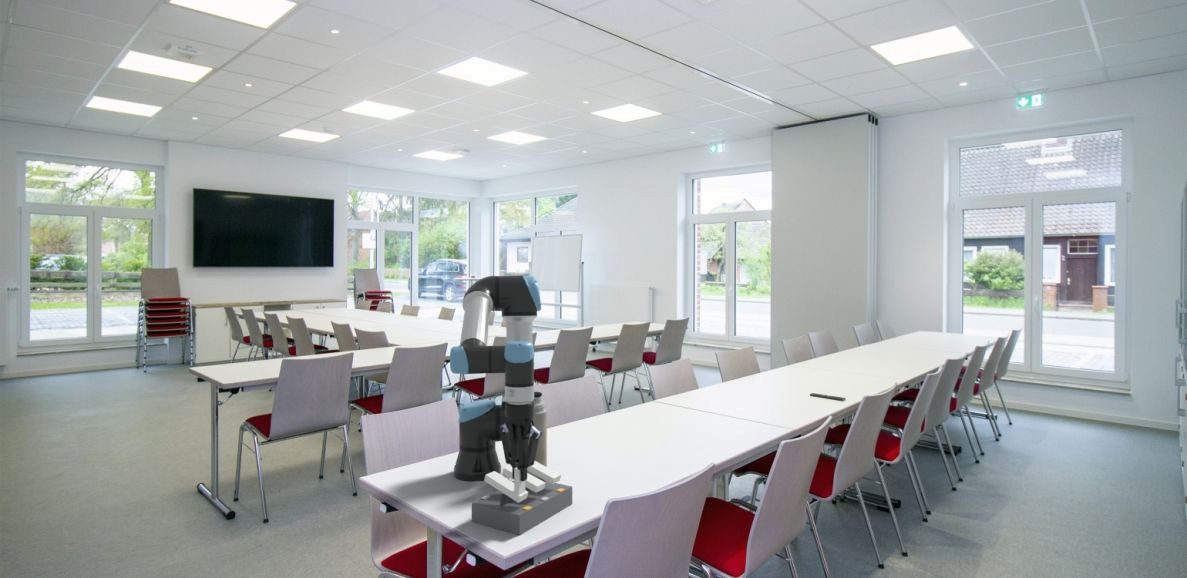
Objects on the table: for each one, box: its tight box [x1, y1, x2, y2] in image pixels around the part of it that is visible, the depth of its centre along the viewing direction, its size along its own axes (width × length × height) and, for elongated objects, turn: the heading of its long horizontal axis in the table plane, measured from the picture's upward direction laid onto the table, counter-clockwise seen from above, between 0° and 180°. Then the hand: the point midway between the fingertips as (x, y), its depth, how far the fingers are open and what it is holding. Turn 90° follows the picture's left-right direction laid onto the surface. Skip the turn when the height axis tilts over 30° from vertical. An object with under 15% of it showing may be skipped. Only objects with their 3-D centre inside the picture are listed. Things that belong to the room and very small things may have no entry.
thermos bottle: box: [527, 391, 548, 477], centre depth 191 cm, size 8×8×28 cm
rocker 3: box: [527, 461, 562, 484], centre depth 172 cm, size 12×4×2 cm, turn 59°
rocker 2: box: [501, 464, 545, 493], centre depth 166 cm, size 12×4×2 cm, turn 59°
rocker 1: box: [483, 471, 528, 503], centre depth 159 cm, size 12×4×2 cm, turn 59°
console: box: [471, 476, 573, 536], centre depth 166 cm, size 16×24×8 cm, turn 149°
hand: (519, 492), depth 157 cm, fingers closed
